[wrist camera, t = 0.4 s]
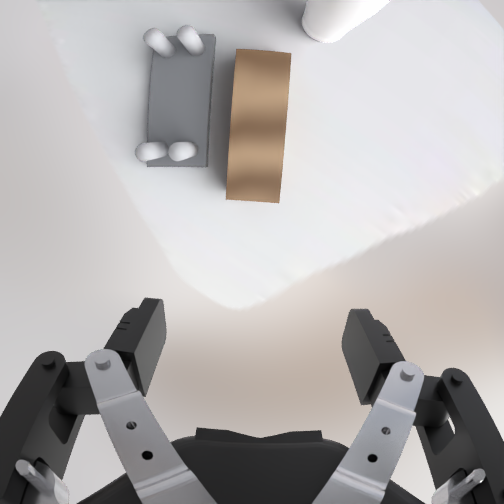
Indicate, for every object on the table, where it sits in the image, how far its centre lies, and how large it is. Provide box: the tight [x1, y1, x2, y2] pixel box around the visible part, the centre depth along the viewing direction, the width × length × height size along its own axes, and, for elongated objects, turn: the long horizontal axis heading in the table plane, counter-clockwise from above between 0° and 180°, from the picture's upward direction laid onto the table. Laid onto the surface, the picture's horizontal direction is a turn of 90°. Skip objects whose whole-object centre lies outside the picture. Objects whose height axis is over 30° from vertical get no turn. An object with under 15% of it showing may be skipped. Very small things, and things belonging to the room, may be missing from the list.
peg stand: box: [135, 25, 216, 167], centre depth 28 cm, size 16×7×8 cm, turn 177°
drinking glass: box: [302, 0, 390, 43], centre depth 20 cm, size 7×7×15 cm
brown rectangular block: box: [226, 49, 291, 203], centre depth 30 cm, size 16×6×5 cm, turn 176°
